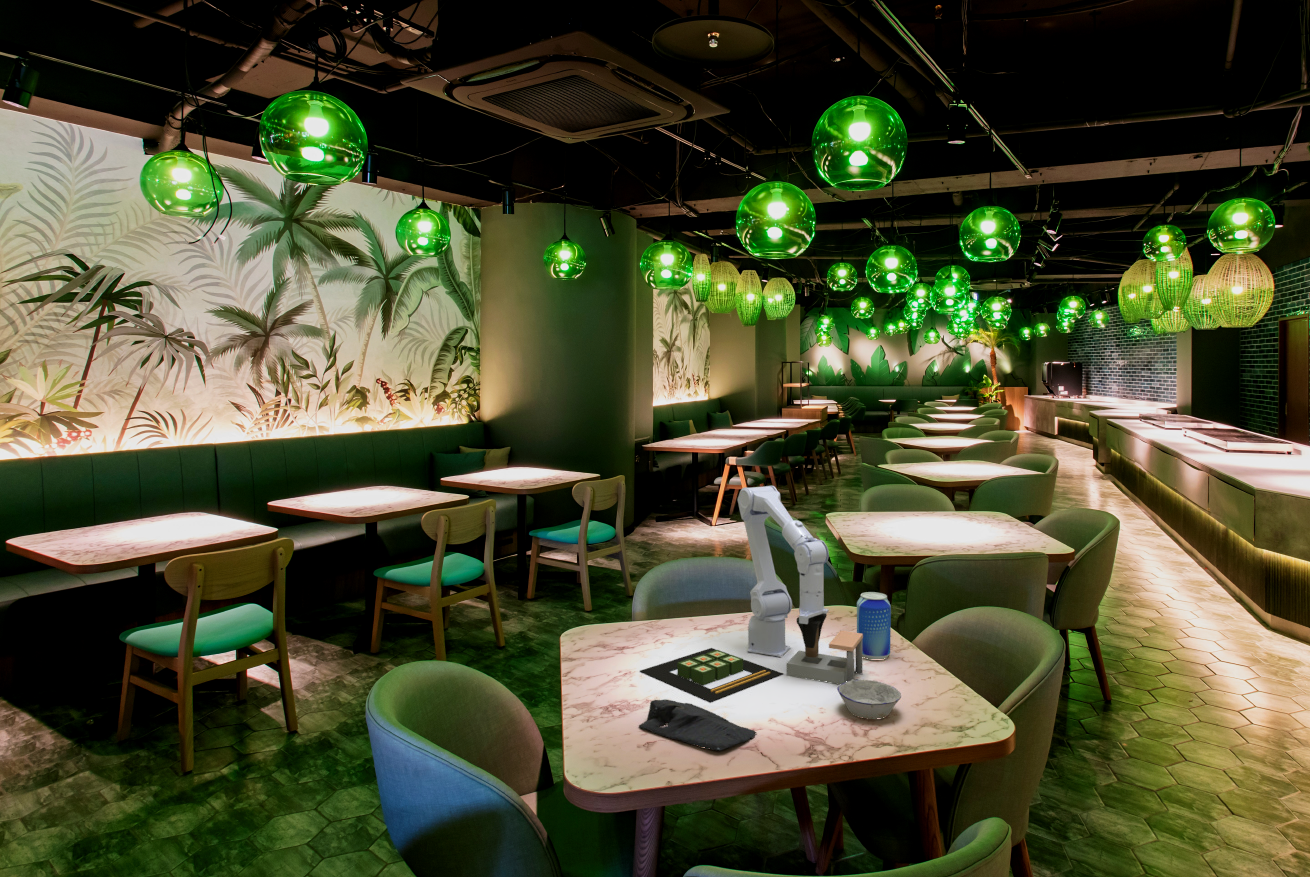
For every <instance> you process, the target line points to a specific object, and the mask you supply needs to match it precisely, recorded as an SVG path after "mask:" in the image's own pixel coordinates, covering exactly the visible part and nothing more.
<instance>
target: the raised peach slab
mask: <svg viewBox="0 0 1310 877" xmlns="http://www.w3.org/2000/svg"><path fill="white" fill-rule="evenodd" d="M862 638H863V634H862V633H857V632H852V631H847V630H846V631H845V630H840V631H839V632H838V633H837V634H836V635H835V636H834V637H833V638H832V640H831V641H830V642H829V643H828V648H829V649H831V650H838V651H846V658H847V681H851V680H852V679H853V680H855V677H854V676H855V673H856V672H857V673H856V674H858V673H862V674H863V658H862ZM854 650H855V652H854ZM854 653H855V654H854ZM854 655H855V656H854ZM854 657H855V658H854Z"/></svg>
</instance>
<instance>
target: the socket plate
mask: <svg viewBox="0 0 1310 877" xmlns="http://www.w3.org/2000/svg"><path fill="white" fill-rule="evenodd" d="M786 676H789V677H793V678H799V677H800V678H801V679H805V678H807V680H811V679H814V680H813V681H816V680H820V681H819V682H822V681H827V682H826V683H828V682H832V683H831V684H834V683H838V684H837V685H840V684H842V683H845V682H846V681H847V657H844V656H843V657H842V656H836V655H830V654H824V653H819V656H818V657H807V656H806V655H805V651H804V650H798V651H797V652H796V653H795V654H794V655H793V656H792V657H791V658H790V659H789V660H788V661H787V662H786Z"/></svg>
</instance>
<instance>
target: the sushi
mask: <svg viewBox="0 0 1310 877" xmlns="http://www.w3.org/2000/svg"><path fill="white" fill-rule="evenodd" d="M674 671H677V673H676V674H675V673H673V672H674ZM744 671H745V672H747V673H750V674H747V675H745V676H742V677H739V678H737V679H733V680H732V681H731V680H730V681H728V682H726V683H723V684H721V685H717V686H715V687H713V688H709V687H708V686H706V685H710V684H712V683H714V682H716V681H720V680H723V679H726V678H729V677H730V676H733V675H737V674H740V673H742V672H744ZM639 673H641V674H643V675H646V676H648V677H651V678H653V679H655V680H658V681H660V682H662V683H664V684H667V685H668V686H671V687H673V688H676V689H678V690H680V691H682V692H685V693H687V694H689V695H692V696H694V697H696V698H698V699H701V700H702V701H704V702H707V703H710V704H711V703H713V702H716V701H718V700H722V699H724V698H727V697H729V696H731V695H735V694H737V693H739V692H742V691H744V690H747V689H750V688H752V687H755V686H757V685H759V684H763V683H765V682H768V681H770V680H774V679H775V678H778V677H781V676H783V675H784V673H783V672H780V671H779V670H778V671H777V670H775V669H771V668H769V667H766V666H764V665H761V664H758V663H755V662H752V661H750V660H746V659H744V658H743V657H739V656H735V655H734V654H730V653H727V652H726V651H721V650H720V649H716V648H713V647H710V648H707V649H704V650H701V651H698V652H694V653H691V654H688V655H685V656H682V657H678V658H676V659H673V660H669V661H666V662H662V663H659V664H657V665H654V666H651V667H648V668H647V667H646V668H644V669H641V670H639Z"/></svg>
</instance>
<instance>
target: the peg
mask: <svg viewBox="0 0 1310 877" xmlns="http://www.w3.org/2000/svg"><path fill="white" fill-rule="evenodd" d="M819 643H820V642H818V630H817V634H816V641H815V646H814V648H808V647H805V646H804V649H805V655H806V656H807V657H818V656H819V654H820V652H819V650H820V649H819V647H820V646H819Z"/></svg>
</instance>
